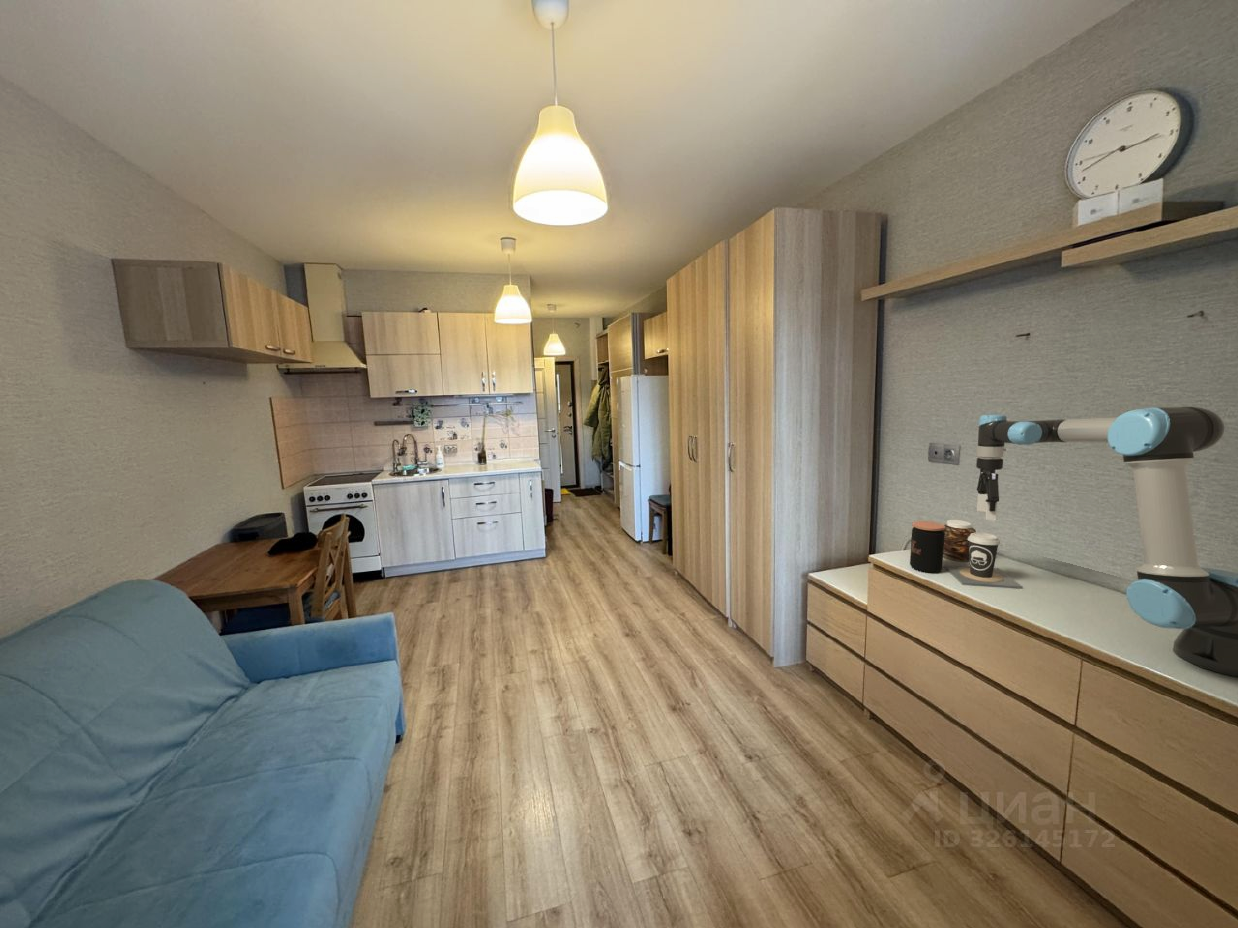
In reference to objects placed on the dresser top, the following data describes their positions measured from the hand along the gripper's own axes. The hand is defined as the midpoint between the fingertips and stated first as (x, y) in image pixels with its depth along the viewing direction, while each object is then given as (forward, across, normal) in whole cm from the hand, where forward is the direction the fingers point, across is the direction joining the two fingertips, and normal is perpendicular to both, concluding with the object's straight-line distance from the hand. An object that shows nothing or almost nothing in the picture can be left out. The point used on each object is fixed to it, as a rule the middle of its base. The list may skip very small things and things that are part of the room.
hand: (985, 515), depth 171 cm
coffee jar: (+24, +3, +17) cm, 30 cm away
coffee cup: (+23, 0, 0) cm, 23 cm away
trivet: (+24, 0, 0) cm, 24 cm away
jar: (+24, +22, +4) cm, 33 cm away
